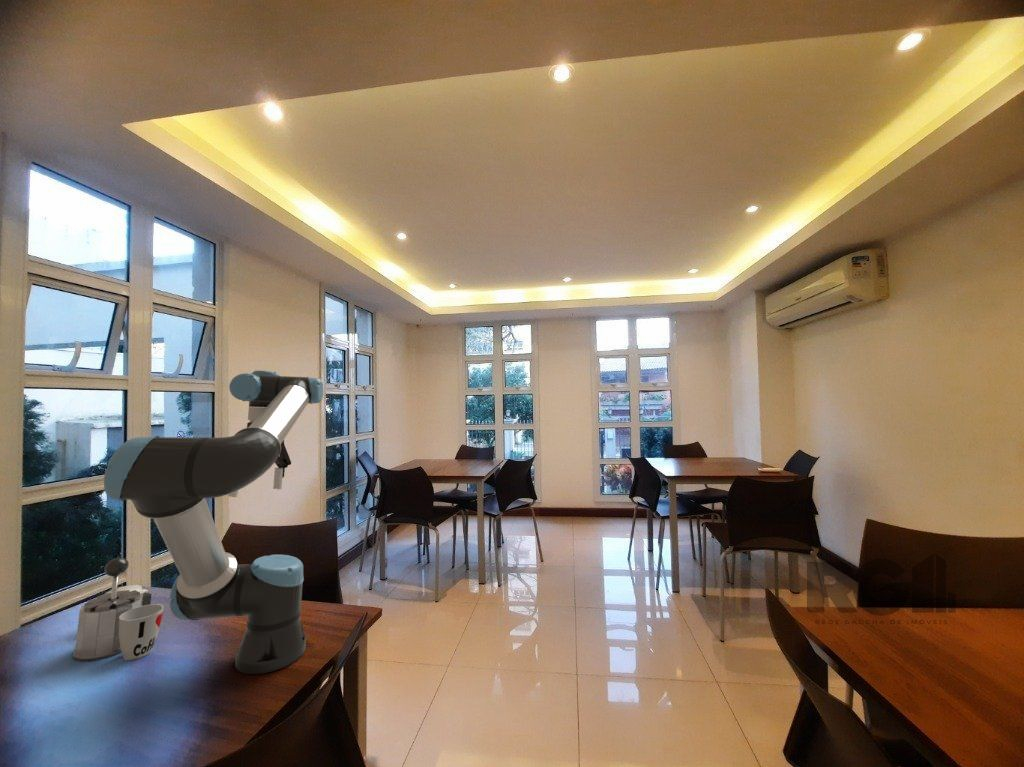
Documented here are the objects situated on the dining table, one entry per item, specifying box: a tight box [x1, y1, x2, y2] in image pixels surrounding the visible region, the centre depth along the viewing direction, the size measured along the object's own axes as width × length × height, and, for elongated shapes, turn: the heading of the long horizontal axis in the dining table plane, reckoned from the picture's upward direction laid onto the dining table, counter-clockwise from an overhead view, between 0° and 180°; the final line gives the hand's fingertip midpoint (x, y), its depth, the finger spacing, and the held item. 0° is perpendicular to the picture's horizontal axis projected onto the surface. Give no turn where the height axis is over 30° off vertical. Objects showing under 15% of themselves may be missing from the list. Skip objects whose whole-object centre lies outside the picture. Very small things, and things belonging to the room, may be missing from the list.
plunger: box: [104, 557, 130, 609], centre depth 101 cm, size 9×9×20 cm
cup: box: [119, 603, 165, 661], centre depth 98 cm, size 8×8×10 cm
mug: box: [104, 584, 149, 594], centre depth 111 cm, size 8×9×9 cm
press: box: [72, 590, 152, 662], centre depth 101 cm, size 12×14×12 cm
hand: (256, 492), depth 117 cm, fingers open, 13 cm apart
